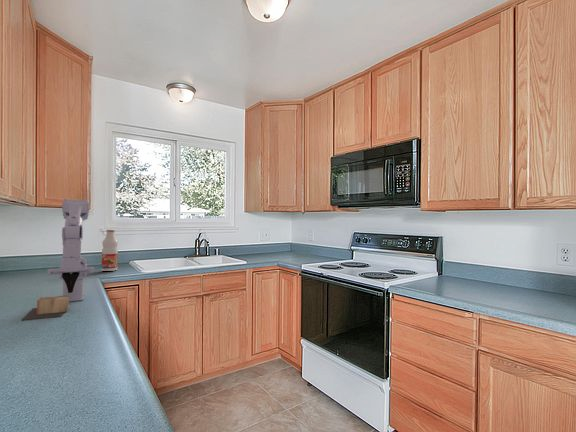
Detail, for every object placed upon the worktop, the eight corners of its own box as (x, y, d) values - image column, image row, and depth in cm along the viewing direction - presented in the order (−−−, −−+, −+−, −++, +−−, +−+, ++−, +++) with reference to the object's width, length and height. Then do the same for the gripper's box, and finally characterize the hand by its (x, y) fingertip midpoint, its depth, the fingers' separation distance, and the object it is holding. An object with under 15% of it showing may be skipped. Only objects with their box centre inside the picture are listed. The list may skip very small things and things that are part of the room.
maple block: (68, 308, 122) (39, 310, 118) (69, 295, 122) (40, 297, 118) (66, 311, 118) (36, 314, 114) (67, 298, 118) (37, 300, 114)
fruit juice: (120, 270, 215) (121, 230, 216) (108, 272, 206) (109, 230, 207) (110, 269, 219) (111, 229, 219) (97, 271, 210) (99, 229, 210)
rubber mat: (32, 308, 121) (32, 308, 121) (67, 305, 126) (67, 305, 126) (21, 320, 107) (21, 319, 107) (60, 316, 112) (60, 315, 112)
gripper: (46, 258, 114) (44, 296, 113) (93, 257, 121) (91, 292, 120) (49, 256, 120) (48, 292, 120) (94, 255, 127) (93, 289, 127)
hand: (70, 292), depth 120 cm, fingers closed
